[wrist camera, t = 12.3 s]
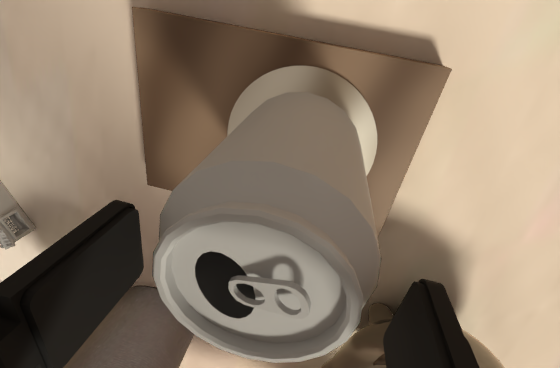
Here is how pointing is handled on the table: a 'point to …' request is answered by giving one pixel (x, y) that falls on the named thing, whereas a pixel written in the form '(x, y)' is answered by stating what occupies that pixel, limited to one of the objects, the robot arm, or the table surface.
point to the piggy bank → (370, 351)
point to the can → (273, 235)
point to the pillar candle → (135, 335)
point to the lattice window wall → (6, 206)
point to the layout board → (272, 94)
